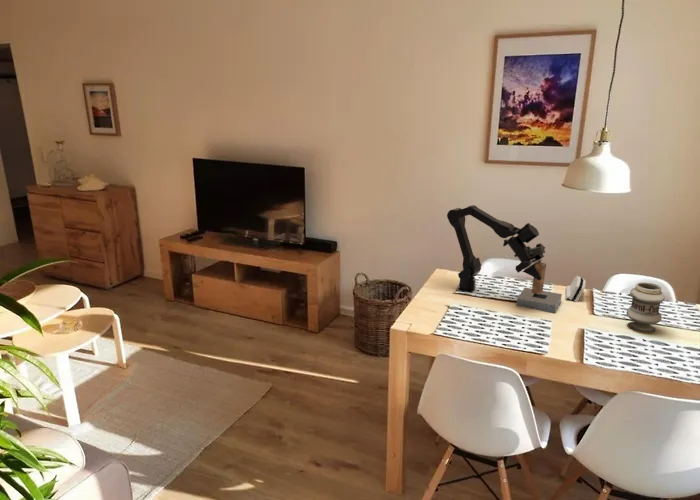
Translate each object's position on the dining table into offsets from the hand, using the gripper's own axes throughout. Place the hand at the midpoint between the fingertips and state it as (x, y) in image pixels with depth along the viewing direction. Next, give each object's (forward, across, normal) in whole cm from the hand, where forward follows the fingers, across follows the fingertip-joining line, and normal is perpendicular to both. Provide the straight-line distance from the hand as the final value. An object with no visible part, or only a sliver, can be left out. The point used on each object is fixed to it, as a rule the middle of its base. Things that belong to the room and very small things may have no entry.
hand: (542, 278), depth 217 cm
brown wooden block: (+4, 0, +6) cm, 7 cm away
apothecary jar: (+37, +7, -18) cm, 42 cm away
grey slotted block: (+8, +5, +11) cm, 15 cm away
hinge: (+15, +26, +5) cm, 31 cm away
